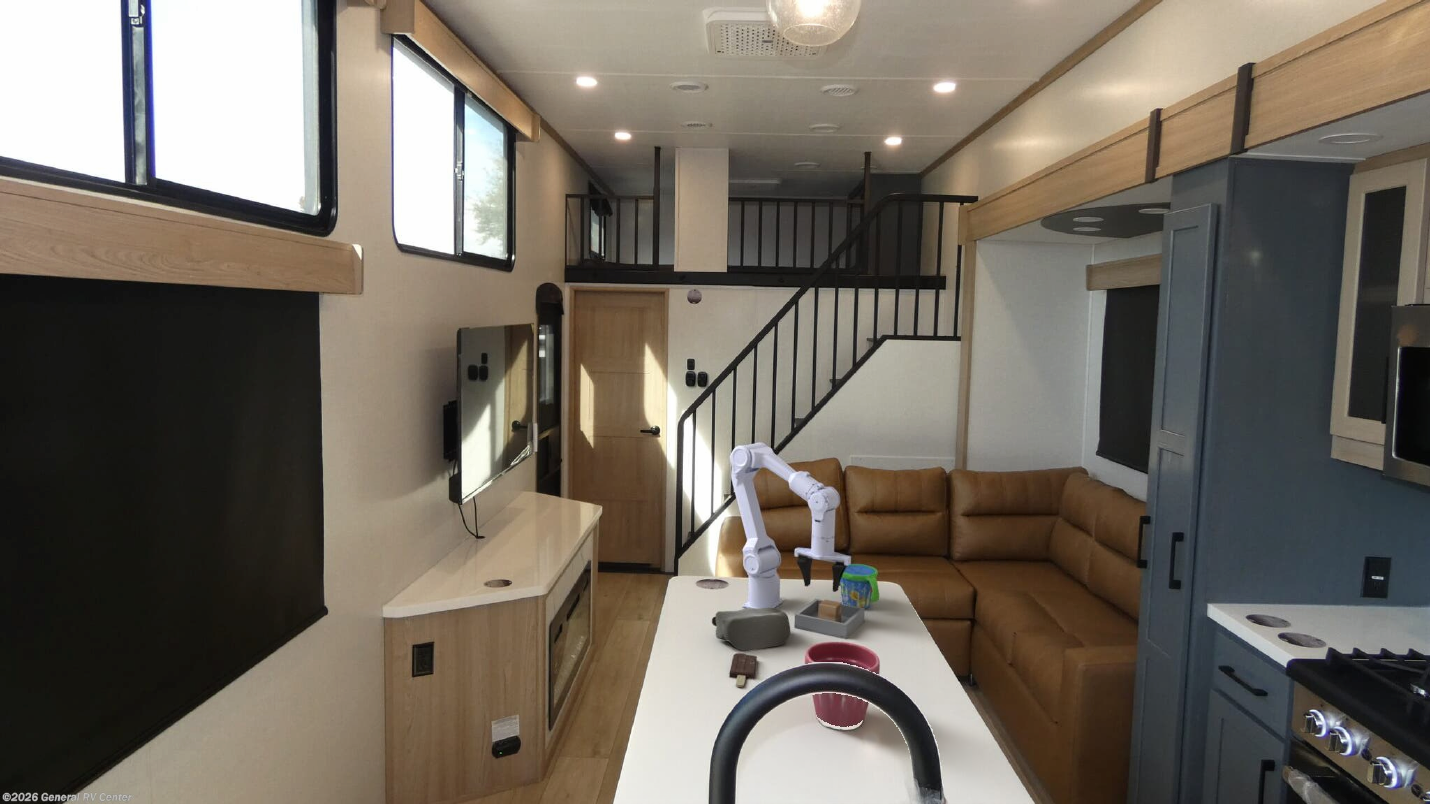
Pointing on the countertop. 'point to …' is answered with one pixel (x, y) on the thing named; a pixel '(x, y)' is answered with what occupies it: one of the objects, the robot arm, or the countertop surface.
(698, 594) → the countertop surface
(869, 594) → the snack cup
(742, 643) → the grey rounded lump
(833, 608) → the walnut block
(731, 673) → the ice cream bar
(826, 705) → the plant pot
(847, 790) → the countertop surface
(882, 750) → the countertop surface
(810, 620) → the bin
